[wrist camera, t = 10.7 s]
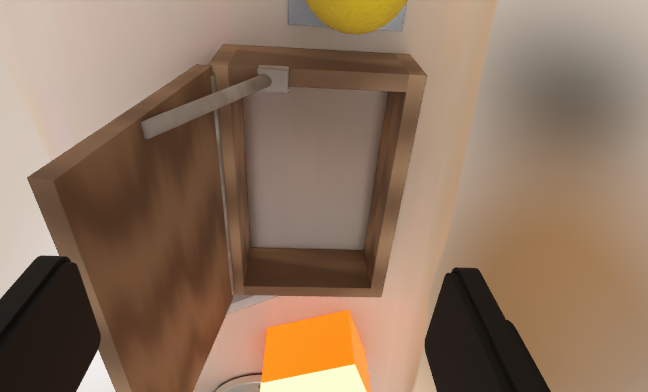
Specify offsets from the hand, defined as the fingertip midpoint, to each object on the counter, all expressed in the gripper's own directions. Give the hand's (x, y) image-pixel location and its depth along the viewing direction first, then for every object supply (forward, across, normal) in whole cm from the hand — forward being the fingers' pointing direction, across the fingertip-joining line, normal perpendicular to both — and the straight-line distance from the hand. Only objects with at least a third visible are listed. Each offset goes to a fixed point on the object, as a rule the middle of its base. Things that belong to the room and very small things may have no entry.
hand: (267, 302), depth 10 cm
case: (+20, 0, +6) cm, 21 cm away
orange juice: (+20, -4, +28) cm, 34 cm away
